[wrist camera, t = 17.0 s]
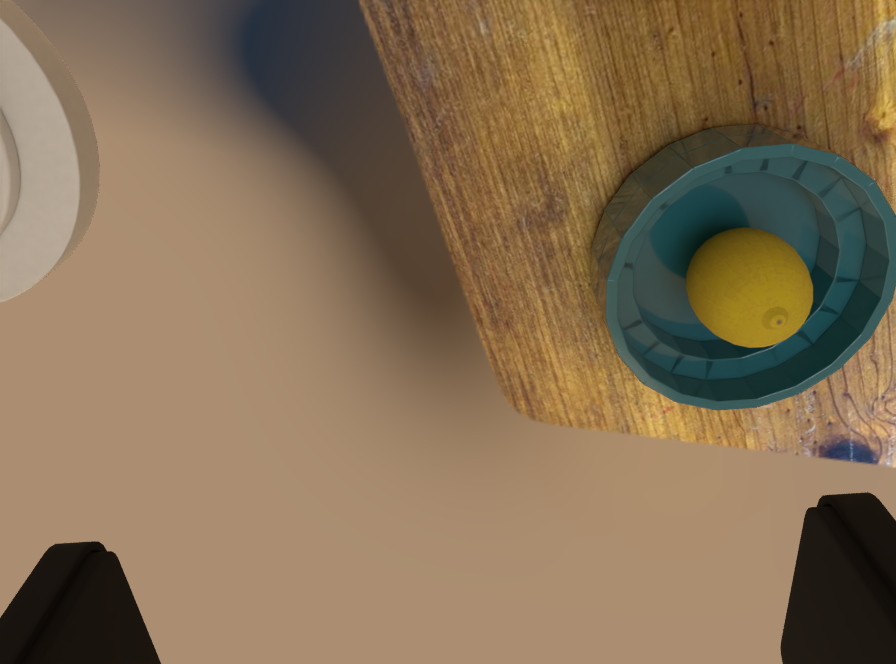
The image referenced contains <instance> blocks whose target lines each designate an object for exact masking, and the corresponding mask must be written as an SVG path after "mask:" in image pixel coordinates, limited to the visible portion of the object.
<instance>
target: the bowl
mask: <svg viewBox="0 0 896 664" xmlns="http://www.w3.org/2000/svg"><path fill="white" fill-rule="evenodd" d="M743 227H744V228H755V229H761V230H763V231H766V232H769V233H771V234H774V235H776V236H778V237H780V238H781V239H782V240H784V241H785V242H786V243H788V244H789V245H790V246H792V247H793V248H794V249H795V250H796V252H797V253H798V254H799V256H800V257H801V259H802V260H803V262H804V263H805V265H806V266H807V269H808V271H809V274H810V278H811V281H812V284H813V303H812V306H811V309H810V313H809V315H808V317H807V318H806V320H805V322H804V324H803V325H802V326H801V327H800V328H799V329H798V330H797V331H796V333H794V334H793V335H791V336H790V337H789V338H787V339H786V340H784V341H782V342H779V343H777V344H775V345H771V346H767V347H756V348H748V347H744V346H739V345H734V344H732V343H730V342H728V341H726V340H724V339H722V338H720V337H718V336H716V335H715V334H714V333H712V332H711V331H710V330H709V329H708V328H707V327H706V326H705V325H704V324H703V323H701V321H700V320H699V319H698V317H697V316H696V314H695V312H694V310H693V309H692V307H691V305H690V303H689V299H688V294H687V290H686V274H687V270H688V267H689V264H690V261H691V259H692V257H693V256H694V254H695V253H696V251H697V250H698V249H699V248H700V247H701V246H702V245H703V244H704V243H705V242H706V241H707V240H708V239H710V238H711V237H713V236H715V235H716V234H718V233H721V232H724V231H726V230H729V229H736V228H743ZM591 286H592V290H593V293H594V295H595V298H596V301H597V304H598V306H599V309H600V312H601V315H602V318H603V320H604V322H605V325H606V327H607V330H608V332H609V334H610V337H611V339H612V342H613V344H614V346H615V349H616V351H617V354H618V355H619V357H620V358H621V359H622V361H623V362H624V363H625V364H626V365H627V366H628V367H629V369H630V370H631V371H632V372H633V373H634V374H635V376H636V377H637V378H638V379H639V380H640V381H641V382H642V383H643V384H644V385H646V386H648V387H649V388H651V389H653V390H655V391H657V392H658V393H660V394H662V395H664V396H666V397H667V398H669V399H671V400H673V401H675V402H677V403H682V404H687V405H692V406H697V407H702V408H706V409H711V410H728V409H743V408H757V407H760V406H763V405H766V404H770V403H773V402H776V401H779V400H782V399H785V398H788V397H791V396H794V395H797V394H799V393H802V392H803V391H805V390H807V389H808V388H810V387H811V386H813V385H815V384H816V383H818V382H820V381H821V380H823V379H825V378H826V377H828V376H829V375H831V374H833V373H834V372H836V371H837V370H839V369H840V368H841V367H842V366H843V365H844V364H845V363H846V362H847V361H848V360H849V359H850V358H851V357H852V356H853V355H854V354H855V353H856V352H857V351H858V350H859V349H860V348H861V347H862V346H863V345H864V344H865V343H866V342H867V341H868V340H869V339H870V338H871V336H872V335H873V333H874V331H875V329H876V328H877V326H878V324H879V322H880V321H881V319H882V317H883V315H884V314H885V312H886V310H887V308H888V307H889V305H890V303H891V301H892V299H893V296H894V291H895V287H896V215H895V213H894V211H893V210H892V208H891V206H890V205H889V203H888V201H887V200H886V198H885V196H884V195H883V193H882V191H881V190H880V188H879V186H878V185H877V183H876V181H874V179H873V178H871V177H870V176H868V175H867V174H866V173H864V172H863V171H861V170H860V169H859V168H857V167H856V166H854V165H853V164H851V163H850V162H849V161H847V160H846V159H844V158H843V157H842V156H840V155H838V154H836V153H834V152H832V151H830V150H829V149H827V148H825V147H823V146H821V145H819V144H817V143H815V142H813V141H811V140H809V139H807V138H805V137H803V136H801V135H799V134H797V133H793V132H789V131H785V130H781V129H777V128H773V127H768V126H764V125H760V124H748V125H737V126H725V127H713V128H709V129H707V130H704V131H702V132H699V133H697V134H694V135H692V136H689V137H687V138H684V139H682V140H679V141H677V142H674V143H672V144H669V145H668V146H666V147H665V148H664V149H662V150H661V151H660V152H659V153H657V154H656V155H655V156H653V157H652V158H651V159H650V160H648V161H647V162H646V163H644V164H643V165H642V166H640V167H639V168H638V169H637V170H635V171H634V172H633V173H632V174H630V176H629V177H628V178H627V180H626V181H625V182H624V184H623V185H622V186H621V188H620V189H619V191H618V192H617V193H616V195H615V196H614V197H613V199H612V200H611V202H610V203H609V204H608V206H607V207H606V208H605V210H604V213H603V216H602V219H601V222H600V224H599V227H598V230H597V233H596V236H595V239H594V242H593V245H592V250H591Z"/></svg>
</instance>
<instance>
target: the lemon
mask: <svg viewBox="0 0 896 664" xmlns="http://www.w3.org/2000/svg"><path fill="white" fill-rule="evenodd" d="M686 290H687V294H688V299H689V303H690V305H691V307H692V309H693V310H694V312H695V314H696V316H697V317H698V319H699V320H700V321H701V323H703V324H704V325H705V326H706V327H707V328H708V329H709V330H710V331H711V332H712V333H714V334H715V335H716V336H718V337H720V338H722V339H724V340H726V341H728V342H730V343H732V344H734V345H739V346H744V347H748V348H756V347H767V346H771V345H775V344H777V343H779V342H782V341H784V340H786V339H787V338H789V337H790V336H791V335H793V334H794V333H796V331H797V330H798V329H799V328H800V327H801V326H802V325H803V324H804V322H805V320H806V318H807V317H808V315H809V313H810V309H811V306H812V303H813V284H812V281H811V278H810V274H809V271H808V269H807V266H806V265H805V263H804V262H803V260H802V259H801V257H800V256H799V254H798V253H797V252H796V250H795V249H794V248H793V247H792V246H790V245H789V244H788V243H786V242H785V241H784V240H782V239H781V238H780V237H778V236H776V235H774V234H771V233H769V232H766V231H763V230H761V229H755V228H744V227H743V228H736V229H729V230H726V231H724V232H721V233H718V234H716V235H715V236H713V237H711V238H710V239H708V240H707V241H706V242H705V243H704V244H703V245H702V246H701V247H700V248H699V249H698V250H697V251H696V253H695V254H694V256H693V257H692V259H691V261H690V264H689V267H688V270H687V274H686Z"/></svg>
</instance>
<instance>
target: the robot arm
mask: <svg viewBox="0 0 896 664" xmlns="http://www.w3.org/2000/svg"><path fill="white" fill-rule="evenodd" d="M19 186H20V170H19V162H18V154H17V150H16V147H15V144H14V141H13V137H12V134H11V131H10V128H9V126H8V124H7V122H6V120H5V118H4V116H3V114H2V112H1V110H0V235H1V234H2V233H3V231H4V230H5V228H6V227H7V225H8V223H9V222H10V220H11V219H12V217H13V214H14V211H15V207H16V204H17V201H18V198H19ZM781 656H782V662H783V664H896V521H895V519H894V518H893V517H892V516H891V514H890V513H889V512H888V511H887V509H886V508H885V507H884V505H883V504H882V503H881V502H880V500H879V499H877V498H876V496H874V495H873V494H871V493H853V494H838V495H825V496H822V497H821V498H820V499H819V502H818V505H817V507H811V508H808V510H807V511H806V514H805V518H804V523H803V529H802V534H801V539H800V544H799V550H798V555H797V560H796V566H795V572H794V576H793V582H792V587H791V593H790V598H789V603H788V608H787V613H786V619H785V624H784V629H783V635H782V640H781ZM0 664H161V662H160V660H159V658H158V655H157V653H156V650H155V648H154V645H153V643H152V640H151V638H150V636H149V633H148V631H147V628H146V626H145V623H144V621H143V618H142V616H141V613H140V611H139V608H138V606H137V604H136V601H135V599H134V596H133V594H132V591H131V589H130V586H129V584H128V581H127V579H126V577H125V574H124V572H123V569H122V567H121V564H120V562H119V560H118V557H117V556H116V554H115V553H113V552H111V551H110V552H109V551H108V552H107V550H106V549H105V547H104V545H103V544H101V543H100V542H79V543H63V544H55V545H53V546H51V547H50V548H49V549H48V550H47V551H46V552H45V553H44V555H43V556H42V558H41V559H40V561H39V562H38V564H37V565H36V566H35V568H34V569H33V571H32V572H31V574H30V575H29V577H28V578H27V580H26V581H25V583H24V584H23V585H22V587H21V588H20V590H19V591H18V593H17V594H16V596H15V597H14V599H13V600H12V602H11V603H10V604H9V606H8V608H7V609H6V610H5V612H4V613H3V615H2V616H1V618H0Z"/></svg>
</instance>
